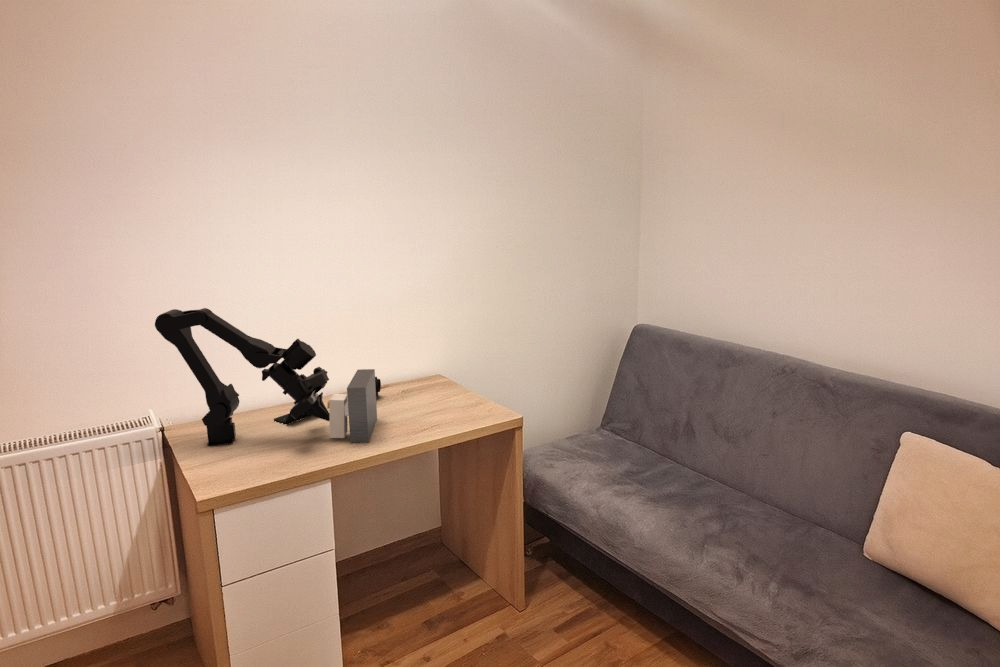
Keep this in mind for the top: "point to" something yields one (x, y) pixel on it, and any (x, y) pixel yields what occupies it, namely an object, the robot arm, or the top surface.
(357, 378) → the rail board
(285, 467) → the top surface
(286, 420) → the handheld gaming console
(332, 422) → the block
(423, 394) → the top surface
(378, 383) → the digital camera
